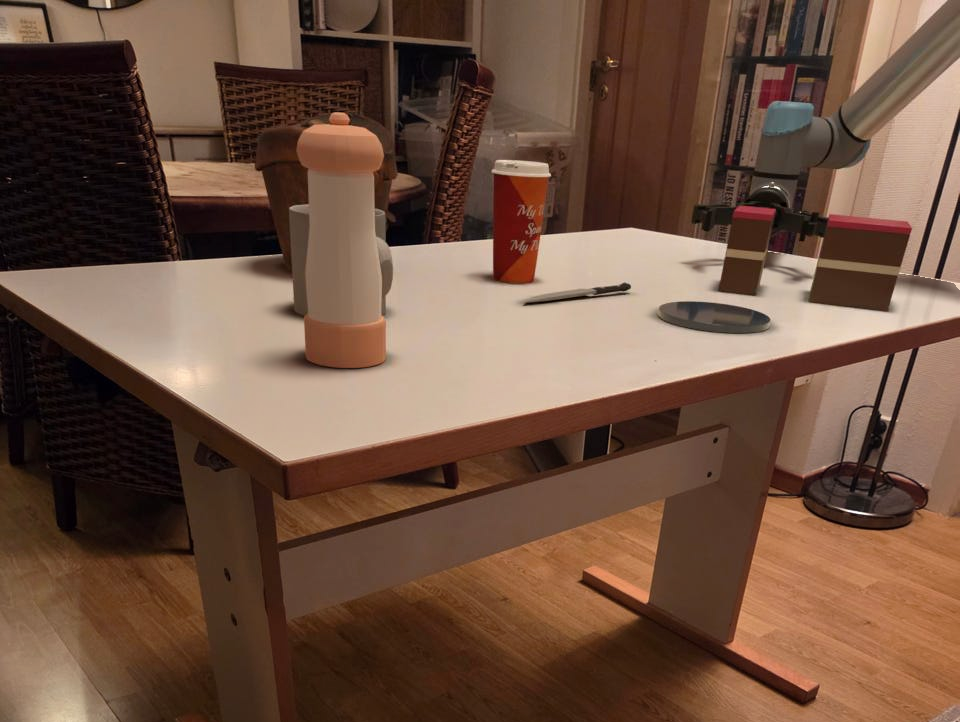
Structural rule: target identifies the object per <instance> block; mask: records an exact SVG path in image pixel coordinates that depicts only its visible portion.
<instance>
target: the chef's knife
mask: <svg viewBox="0 0 960 722" xmlns="http://www.w3.org/2000/svg"><path fill="white" fill-rule="evenodd" d="M631 289H632V285H631V284H630V283H627V282H625V281H624V282H622V283H619V284H616V285H608V286H606V285H605V286H595V287H592V288H576V289H570V290H564V291H556V292H550V293H545V294H539V295H536V296H534V297H531V298H527V299H525V300H524V301H523V303H538V302H539V303H540V302H547V301H555V300H556V301H557V300H562V299H569V298H575V297H583V296H590V295H593V296H599V295H604V294H609V293H610V294H611V293H616V292H617V293H618V292H623V293H624V292H627V291H629V290H631Z"/></svg>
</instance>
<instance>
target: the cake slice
mask: <svg viewBox="0 0 960 722" xmlns="http://www.w3.org/2000/svg"><path fill="white" fill-rule="evenodd" d="M775 212H776V209H770V208H760V207H749V206H739V207H738V208H737V209H735V210H734V213H733V218H732V223H731V225H730V228H729V229H730V230H729V234H728V240H727V245H726V249H725V253H724V256H725V257H724V260H723V264H722V270H721V275H720V280H719V284H718V286H719V287H718V292H723V293H733V294H741V295H749V296H750V295H751V296H756V295H757V293H758V290H759V288H760V285H761V280H762V277H763V272H764V267H765V262H766V258H767V253H768V249H769V244H770V240H771V238H770V235H771V231H772V226H773V222H774V217H775Z"/></svg>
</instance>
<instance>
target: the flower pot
mask: <svg viewBox="0 0 960 722" xmlns="http://www.w3.org/2000/svg"><path fill="white" fill-rule="evenodd" d="M332 113H333V112H331V113H323V114H319V115H316V116H312V117H309V118H307V119H303V121H301V122H298V123H296V124H292V125H283V126H276V127H272V128H268V129H266V130H264V131H262V132H261V133H260V134H259V137H258V138H257V145H256V153H255V158H254V169H255V171H256V172H261V175H262V178H263V183H264V187H265V191H266V196H267V198H268V203H269V207H270V210H271V216H272V220H273V222H274V227H275V231H276V235H277V239H278V242H279V246H280V250H281V254H282V259H283V264H284V267H286V269H288V270H289V271H291V272H292V257H291V239H290V221H289V208H290V207H292V206H296V205H305V204H309V194H308V170H309V169H308V168H306V167H304V166H302V164H301V162H300V160H299V157H298V154H297V151H296V150H297V144H298V140H299V138H300V136H301V134H302V132H303V131H304V130H306V129H308V128H310V127H311V126H313V125H323V124H331V122H330V120H329V118H330V116H331V114H332ZM339 113H343V112H339ZM344 113H345V114H346V115H348V117H349V119H350V121H349V123H348V125H350V126H356V127H363V128H365V129H367V130H368V131H370V132H372V133H373V134H375V135H376V136H377V138H378V140H379V141H380V143H381V145H382V149H383V153H384V158H383V161H382V165H381V167H380V169H378V170H376V171H374V172H373V175H374V202H375V209H379V210H382V211H384V212H385V216H386V232H387V231H388V229H389V223H388V220H389V221H390V222H392V223H396V222H397V221H396V217H395V215H394V214H393V213H391V212H390V211H389V201H390V193H391V188H392V184H393V181H395V180H396V179H397V177H398V174H399V173H398V166H397V162H396V156H395V155H396V154H395V149H394V148H395V147H394V140H393V136H392V134H391V133H390V131H389V130H388V129H387V128H386V127H384V126H383V125H382V124H381V123H380V122H378V121H376V120H375V119H372V118H370V117H367V116H365V115H362V114H358V113H353V112H352V113H351V112H344Z"/></svg>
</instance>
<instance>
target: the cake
mask: <svg viewBox="0 0 960 722" xmlns="http://www.w3.org/2000/svg"><path fill="white" fill-rule="evenodd" d="M912 230H913V227H912V226H911V224H910V223H909V221H908V220H907V221H906V220H897V219H885V218H874V217H866V216H865V217H864V216H853V215H843V214H835V213H834V214H833V213H829V214H828V221H827V225H826V229H825V233H824V238H822V242H821V247H820V250H819V254H818V257H817V262H816V267H815V270H814V274H813V278H812V283H811V285H810V291H809V296H808V297H809V298H808V302H809V303H816V304H824V305H832V306H839V307H840V306H841V307H849V308H857V309H865V310H874V311H883V312H888V311H889V308H890V304H891V302H892V299H893V294H894V291H895V288H896V284H897V281H898V278H899V274H900V270H901V267H902V264H903V262H904V261H903V260H904V257H905V253H906V251H907V248H908V247H907V246H908V244H909V240H910V236H911V233H912Z"/></svg>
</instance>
